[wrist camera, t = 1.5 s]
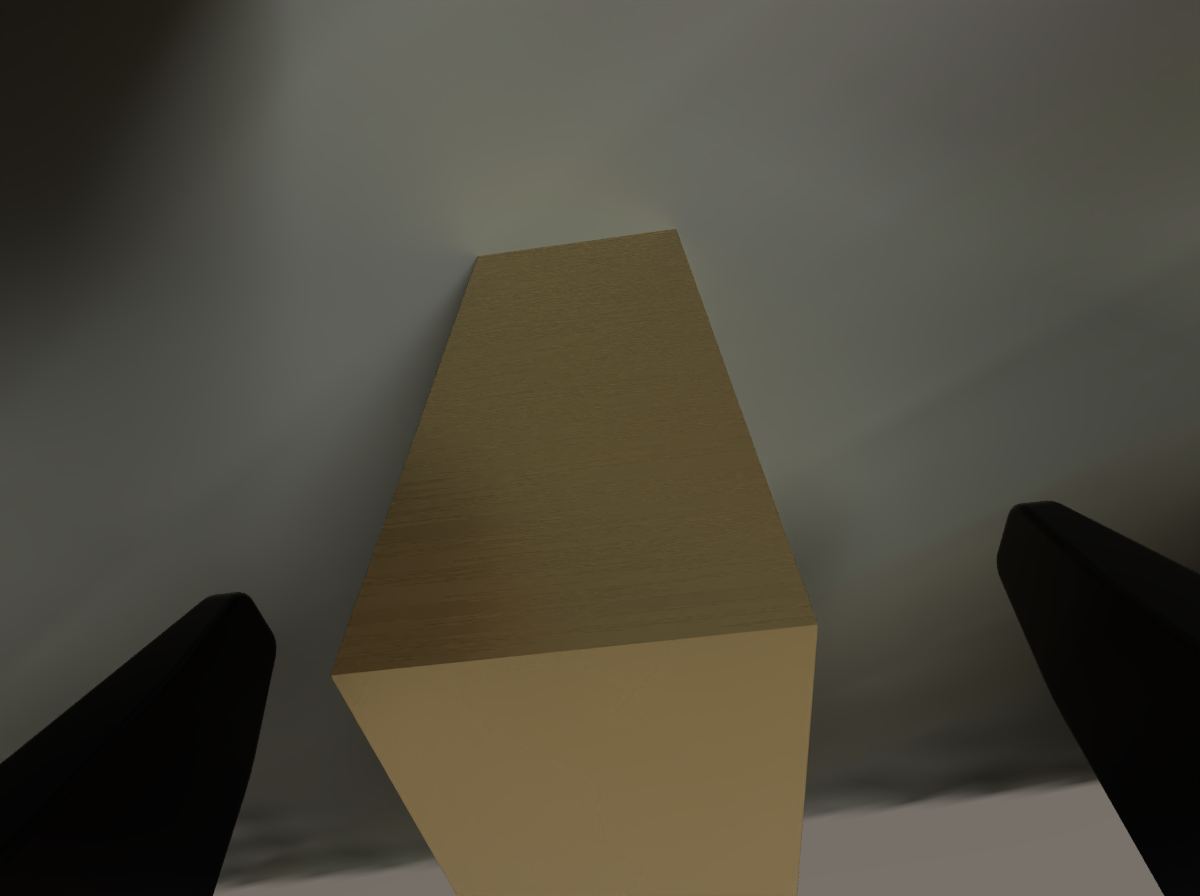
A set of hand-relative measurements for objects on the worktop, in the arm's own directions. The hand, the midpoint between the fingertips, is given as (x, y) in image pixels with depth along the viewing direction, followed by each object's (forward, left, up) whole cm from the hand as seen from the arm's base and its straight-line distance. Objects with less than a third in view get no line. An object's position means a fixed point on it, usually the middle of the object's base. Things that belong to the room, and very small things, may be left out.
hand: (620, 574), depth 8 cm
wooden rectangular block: (0, 0, -3) cm, 3 cm away
